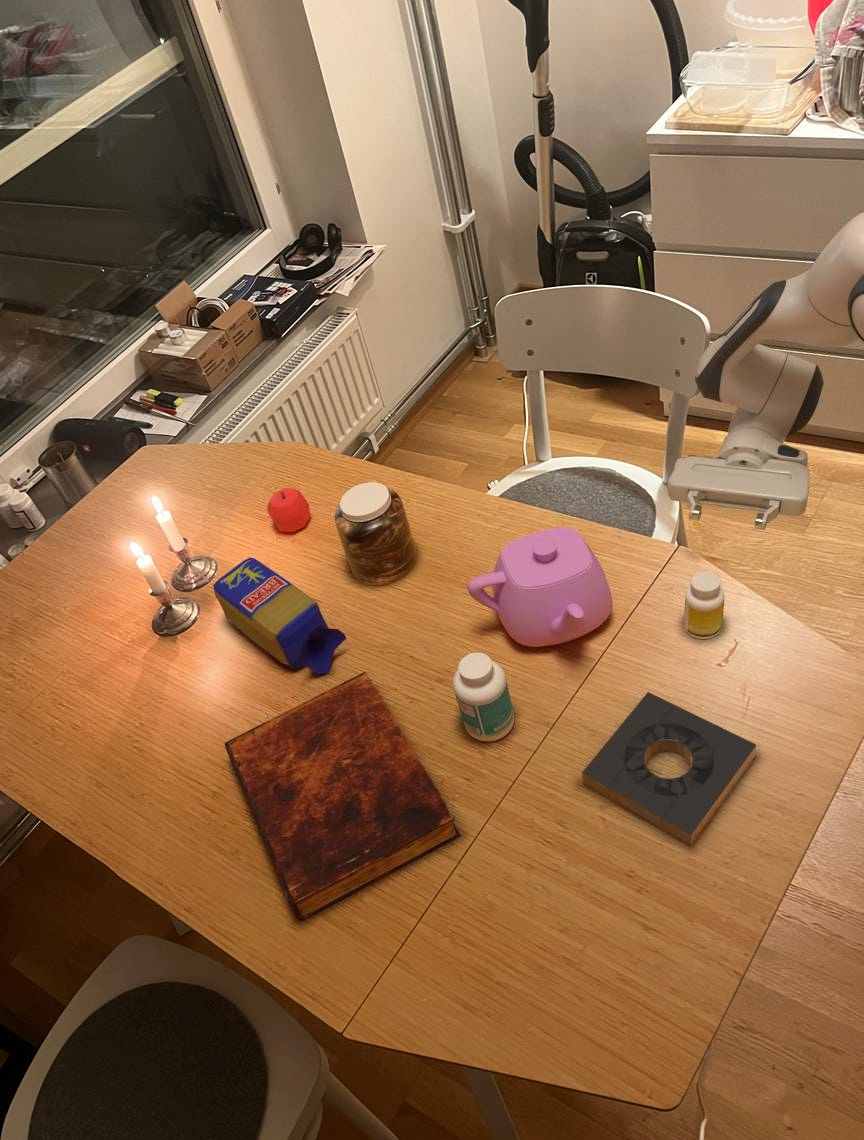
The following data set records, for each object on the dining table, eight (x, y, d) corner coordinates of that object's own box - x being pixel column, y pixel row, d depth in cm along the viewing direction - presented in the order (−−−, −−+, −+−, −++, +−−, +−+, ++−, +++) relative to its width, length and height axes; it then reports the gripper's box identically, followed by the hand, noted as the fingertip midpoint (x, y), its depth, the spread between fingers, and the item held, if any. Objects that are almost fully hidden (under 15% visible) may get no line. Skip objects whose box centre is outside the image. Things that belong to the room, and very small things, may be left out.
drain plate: (755, 757, 121) (756, 744, 118) (690, 846, 115) (691, 834, 112) (648, 704, 130) (648, 691, 127) (583, 784, 124) (581, 772, 121)
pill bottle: (516, 702, 135) (505, 644, 125) (513, 744, 130) (500, 686, 121) (467, 702, 137) (451, 644, 127) (461, 743, 132) (445, 687, 123)
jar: (365, 537, 167) (344, 473, 156) (425, 541, 162) (408, 476, 151) (343, 584, 160) (319, 520, 149) (404, 589, 156) (385, 525, 145)
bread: (268, 588, 164) (249, 547, 156) (355, 652, 149) (339, 610, 141) (224, 622, 160) (202, 582, 153) (309, 692, 146) (289, 650, 138)
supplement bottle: (728, 634, 134) (732, 588, 127) (692, 644, 135) (694, 599, 128) (713, 609, 138) (716, 563, 131) (678, 618, 138) (679, 573, 131)
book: (234, 761, 140) (223, 743, 136) (374, 690, 143) (366, 670, 139) (301, 922, 120) (289, 906, 116) (461, 836, 123) (455, 817, 119)
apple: (314, 506, 176) (302, 473, 170) (314, 533, 171) (302, 501, 165) (275, 514, 177) (261, 482, 171) (273, 542, 172) (260, 510, 166)
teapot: (464, 601, 151) (449, 534, 140) (587, 563, 150) (581, 493, 139) (504, 705, 135) (490, 639, 124) (641, 663, 135) (639, 593, 124)
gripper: (679, 439, 145) (655, 496, 138) (819, 453, 136) (801, 515, 129) (678, 470, 150) (655, 527, 143) (813, 485, 141) (796, 547, 134)
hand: (726, 521), depth 136 cm, fingers open, 8 cm apart
